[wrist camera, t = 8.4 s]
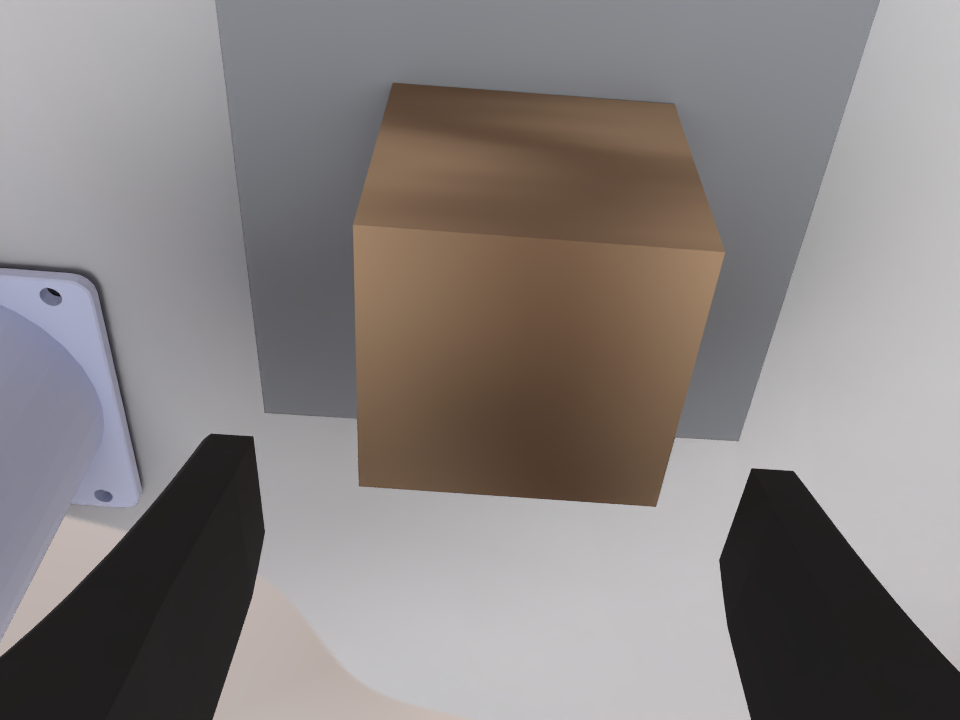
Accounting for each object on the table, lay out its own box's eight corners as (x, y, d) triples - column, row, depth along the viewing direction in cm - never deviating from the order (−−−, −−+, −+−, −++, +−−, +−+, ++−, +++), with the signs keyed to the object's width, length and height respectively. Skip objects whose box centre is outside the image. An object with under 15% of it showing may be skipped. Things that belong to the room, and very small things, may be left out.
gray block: (293, 323, 24) (265, 412, 21) (251, -154, 17) (201, -114, 14) (712, 349, 24) (738, 441, 21) (838, -113, 17) (900, -65, 14)
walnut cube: (391, 313, 19) (359, 486, 15) (392, 82, 16) (352, 224, 12) (627, 330, 19) (655, 506, 15) (674, 104, 16) (725, 251, 12)
